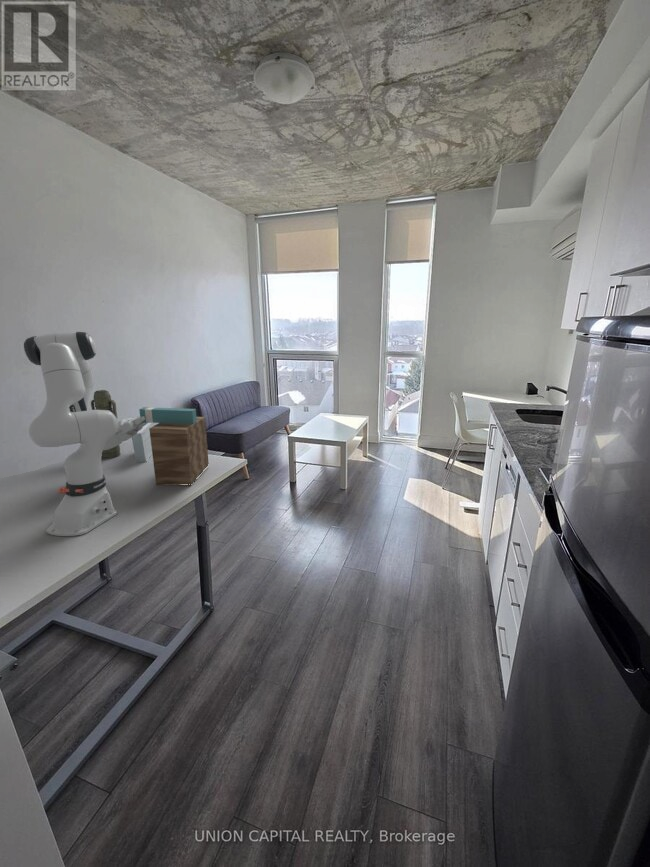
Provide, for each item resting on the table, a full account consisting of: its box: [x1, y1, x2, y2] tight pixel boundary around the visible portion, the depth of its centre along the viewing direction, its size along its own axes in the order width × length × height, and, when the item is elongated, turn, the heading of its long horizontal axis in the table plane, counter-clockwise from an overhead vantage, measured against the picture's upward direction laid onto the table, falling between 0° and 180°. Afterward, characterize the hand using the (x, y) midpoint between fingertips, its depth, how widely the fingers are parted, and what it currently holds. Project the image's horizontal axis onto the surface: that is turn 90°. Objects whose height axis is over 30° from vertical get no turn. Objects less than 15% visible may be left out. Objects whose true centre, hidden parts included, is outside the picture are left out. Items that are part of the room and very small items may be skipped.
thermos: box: [90, 389, 121, 459], centre depth 189 cm, size 9×12×35 cm
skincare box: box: [131, 423, 154, 463], centre depth 193 cm, size 21×6×16 cm, turn 10°
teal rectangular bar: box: [138, 406, 198, 424], centre depth 163 cm, size 4×24×6 cm, turn 87°
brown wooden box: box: [149, 416, 210, 485], centre depth 168 cm, size 22×16×26 cm
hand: (150, 415), depth 164 cm, fingers open, 8 cm apart
